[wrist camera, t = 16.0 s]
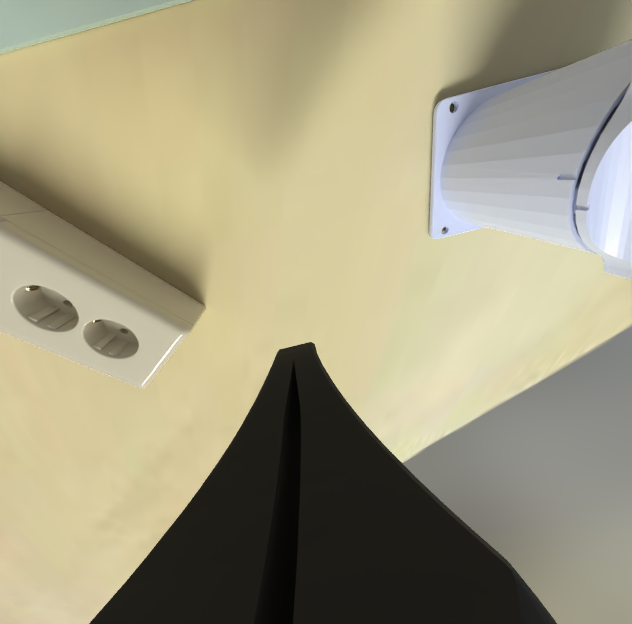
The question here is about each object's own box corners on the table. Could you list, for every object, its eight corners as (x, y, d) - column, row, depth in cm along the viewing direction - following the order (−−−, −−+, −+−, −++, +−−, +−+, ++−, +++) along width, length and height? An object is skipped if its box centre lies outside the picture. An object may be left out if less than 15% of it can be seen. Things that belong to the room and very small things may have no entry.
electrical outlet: (-283, 76, 8) (189, 333, 15) (-112, 107, 12) (208, 305, 19) (-263, 230, 10) (142, 393, 18) (-123, 218, 14) (167, 357, 21)
